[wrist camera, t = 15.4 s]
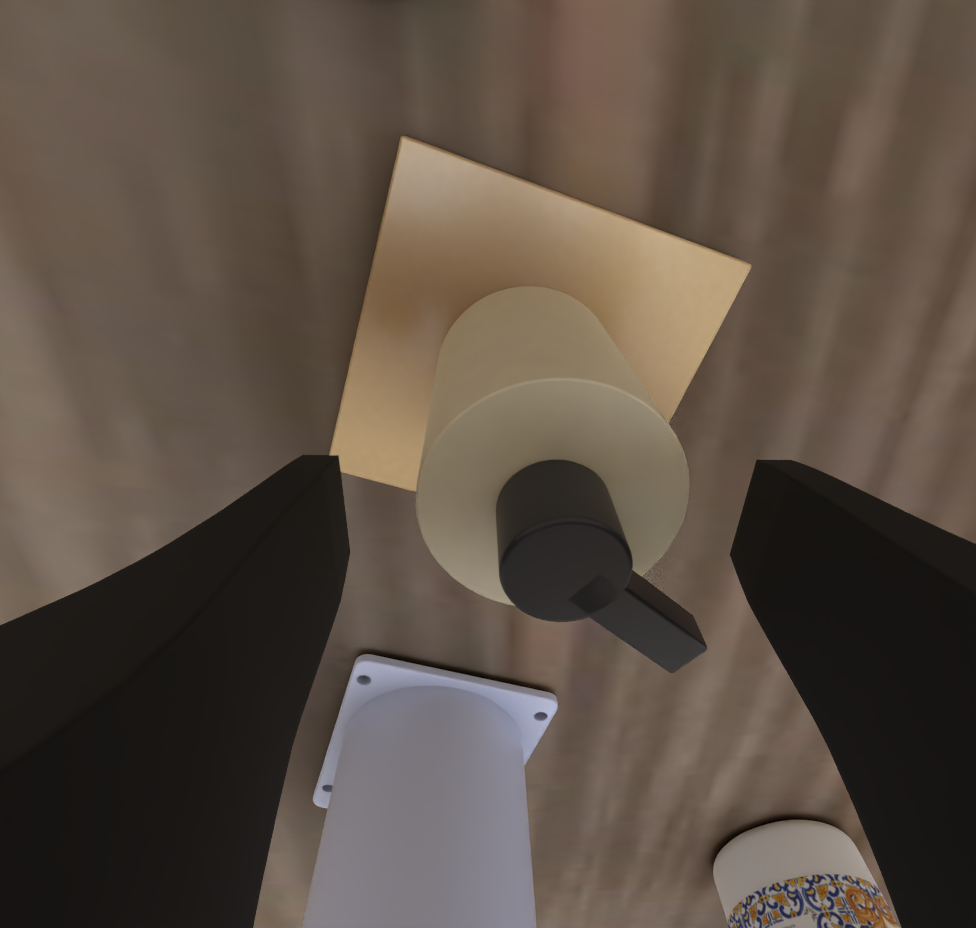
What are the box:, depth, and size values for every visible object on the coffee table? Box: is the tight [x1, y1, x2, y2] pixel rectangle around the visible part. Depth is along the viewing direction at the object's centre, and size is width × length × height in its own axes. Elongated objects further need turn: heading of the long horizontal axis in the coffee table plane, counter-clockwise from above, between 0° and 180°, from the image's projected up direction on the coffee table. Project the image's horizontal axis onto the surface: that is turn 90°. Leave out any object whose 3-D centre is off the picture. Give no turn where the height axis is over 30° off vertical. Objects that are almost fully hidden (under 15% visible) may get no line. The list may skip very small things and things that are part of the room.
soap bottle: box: [415, 286, 707, 673], centre depth 12 cm, size 5×5×8 cm
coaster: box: [329, 136, 751, 492], centre depth 16 cm, size 9×9×1 cm
